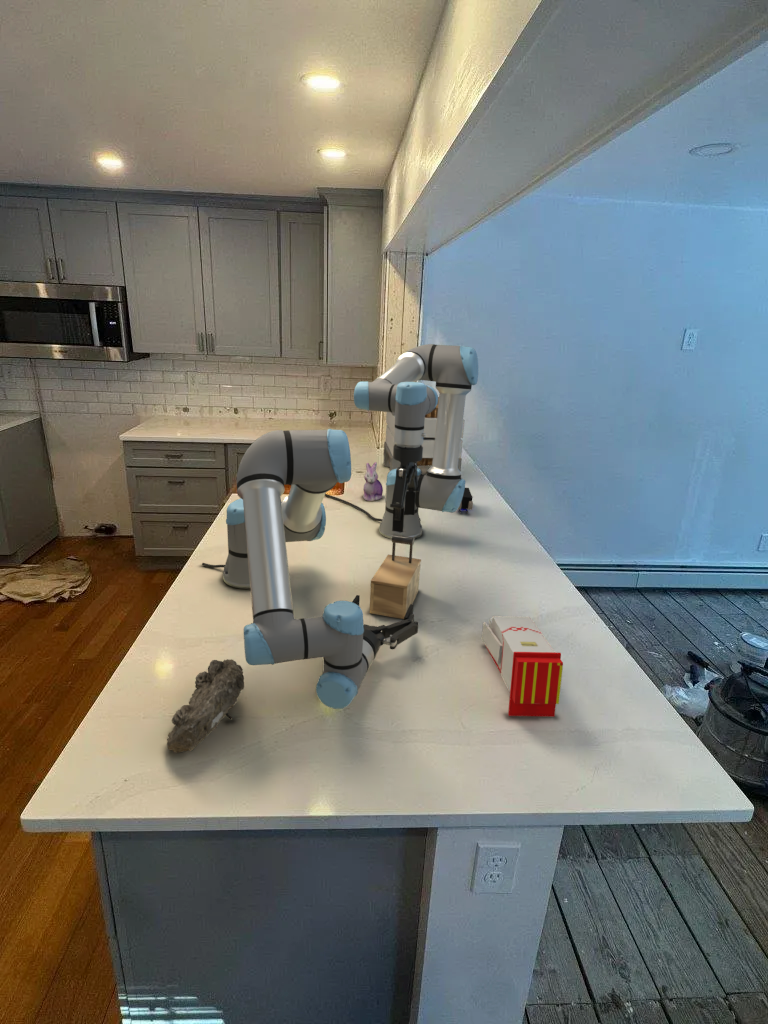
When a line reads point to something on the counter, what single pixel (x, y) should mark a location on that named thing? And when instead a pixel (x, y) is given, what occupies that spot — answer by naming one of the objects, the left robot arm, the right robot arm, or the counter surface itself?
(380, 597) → the chest
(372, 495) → the figurine
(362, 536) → the counter surface
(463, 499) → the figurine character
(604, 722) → the counter surface
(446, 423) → the right robot arm
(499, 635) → the toy
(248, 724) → the counter surface
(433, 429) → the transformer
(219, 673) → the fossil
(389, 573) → the lid
